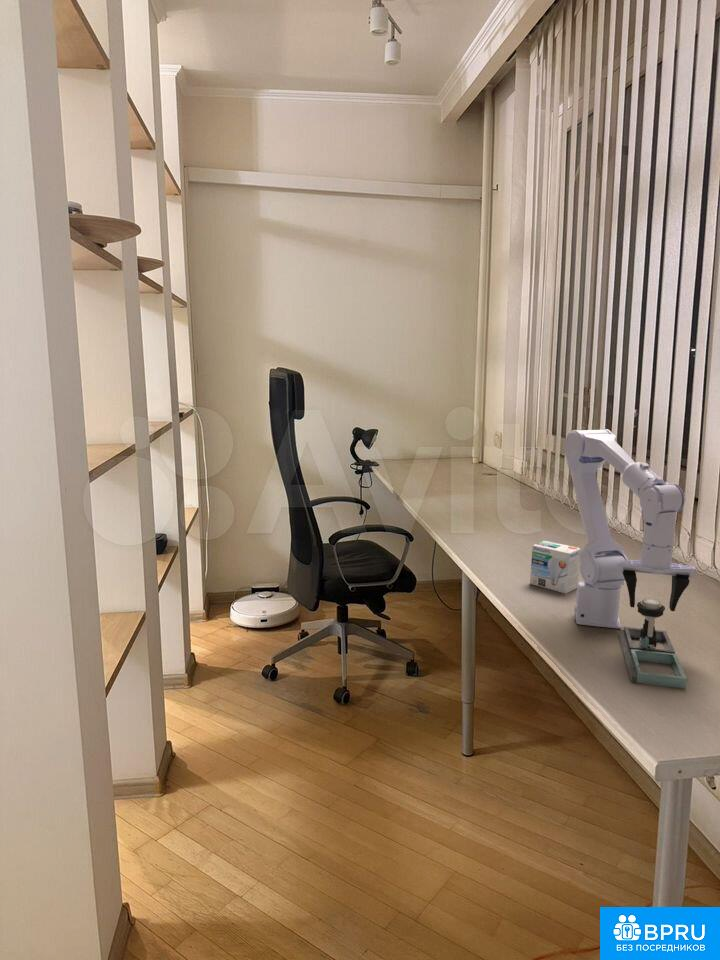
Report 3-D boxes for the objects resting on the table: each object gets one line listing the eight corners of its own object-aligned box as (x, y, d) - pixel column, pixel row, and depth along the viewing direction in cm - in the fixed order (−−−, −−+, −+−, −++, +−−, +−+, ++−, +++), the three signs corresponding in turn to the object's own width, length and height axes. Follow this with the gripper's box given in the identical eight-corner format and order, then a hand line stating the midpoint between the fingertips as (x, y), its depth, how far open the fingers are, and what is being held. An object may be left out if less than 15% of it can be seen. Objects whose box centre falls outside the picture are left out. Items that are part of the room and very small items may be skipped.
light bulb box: (528, 584, 183) (531, 544, 181) (541, 578, 188) (544, 539, 186) (566, 594, 176) (569, 553, 174) (578, 587, 181) (581, 547, 179)
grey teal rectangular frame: (631, 682, 130) (631, 672, 129) (618, 635, 151) (619, 626, 151) (685, 688, 128) (686, 678, 127) (665, 640, 149) (666, 631, 149)
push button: (665, 656, 141) (670, 609, 139) (637, 653, 142) (642, 607, 140) (657, 642, 148) (661, 597, 146) (631, 640, 148) (635, 595, 147)
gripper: (621, 545, 139) (616, 610, 141) (701, 551, 135) (694, 618, 138) (618, 536, 145) (613, 599, 148) (693, 542, 142) (687, 605, 144)
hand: (651, 607), depth 143 cm, fingers open, 7 cm apart
